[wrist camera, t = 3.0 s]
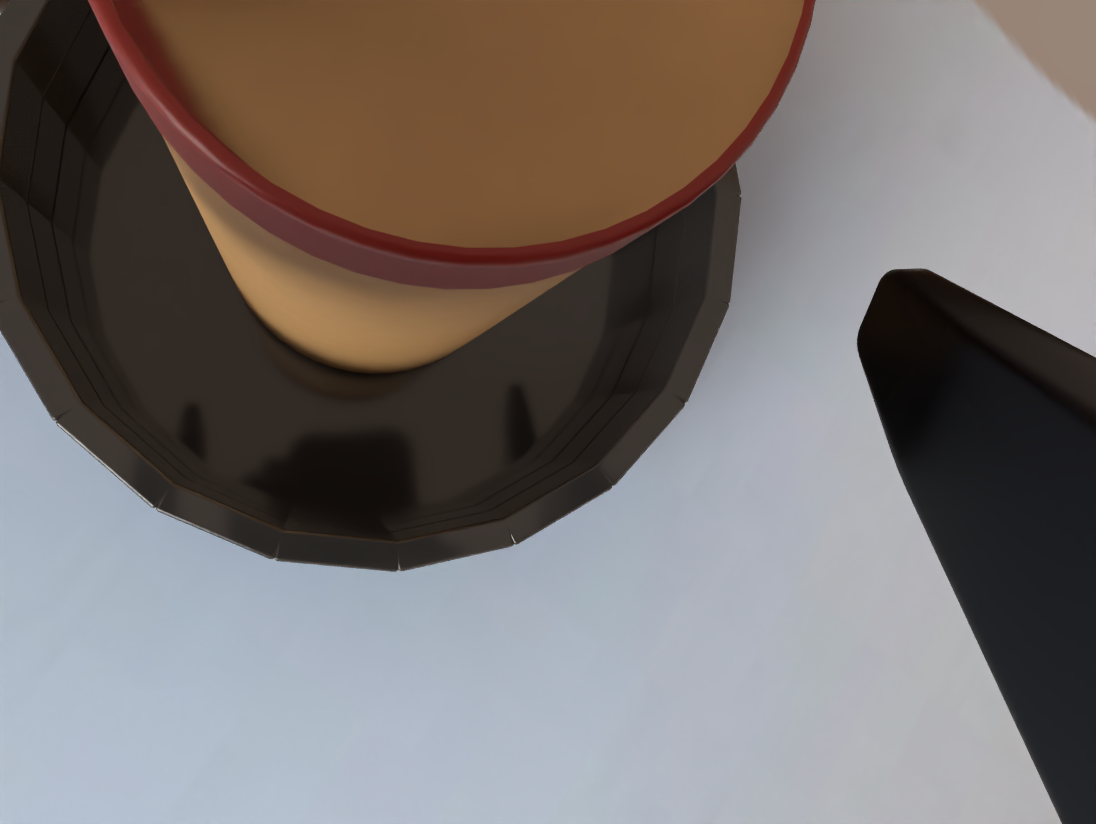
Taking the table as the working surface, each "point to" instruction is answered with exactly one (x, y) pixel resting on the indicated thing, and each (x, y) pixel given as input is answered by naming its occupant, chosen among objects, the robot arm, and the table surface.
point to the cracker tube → (442, 145)
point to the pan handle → (3, 4)
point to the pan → (295, 380)
